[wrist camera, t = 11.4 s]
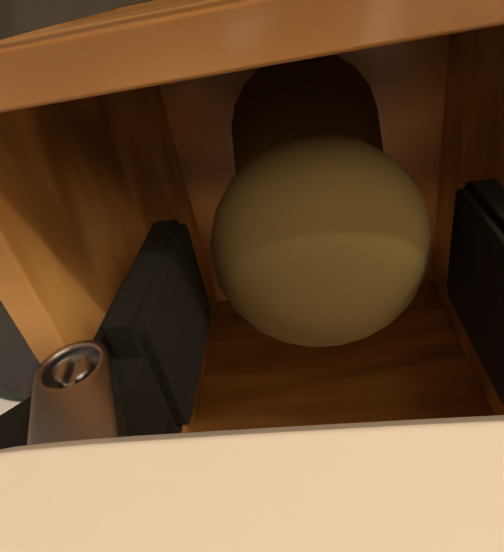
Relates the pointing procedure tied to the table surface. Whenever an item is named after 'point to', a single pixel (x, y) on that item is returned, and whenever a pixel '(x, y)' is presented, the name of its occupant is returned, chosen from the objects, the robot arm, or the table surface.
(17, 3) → the table surface
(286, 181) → the olive tapered piece
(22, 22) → the table surface
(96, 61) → the wooden bin
